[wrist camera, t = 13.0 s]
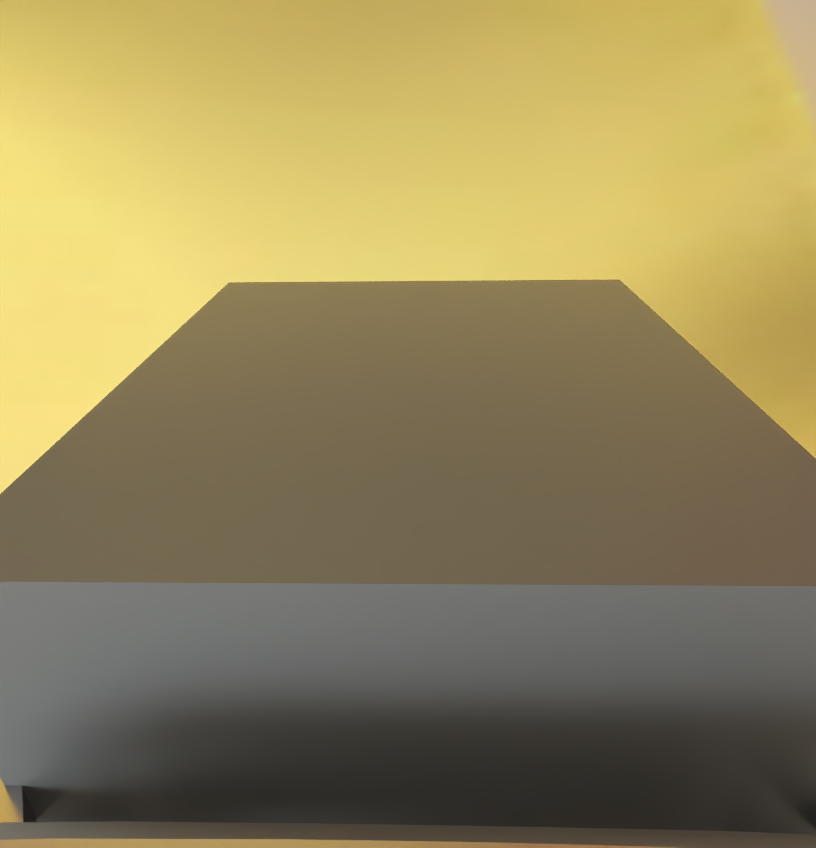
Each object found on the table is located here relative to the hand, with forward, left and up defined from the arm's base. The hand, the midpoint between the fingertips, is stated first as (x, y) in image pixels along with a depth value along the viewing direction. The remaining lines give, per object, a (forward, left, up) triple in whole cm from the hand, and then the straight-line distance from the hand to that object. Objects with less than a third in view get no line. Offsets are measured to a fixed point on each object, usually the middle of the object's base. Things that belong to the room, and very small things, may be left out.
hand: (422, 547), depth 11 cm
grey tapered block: (0, 0, -4) cm, 4 cm away
